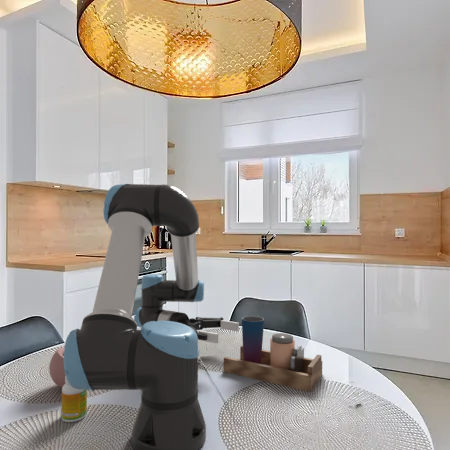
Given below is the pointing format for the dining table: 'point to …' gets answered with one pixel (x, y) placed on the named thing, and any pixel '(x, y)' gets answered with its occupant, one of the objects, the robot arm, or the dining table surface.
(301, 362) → the pusher
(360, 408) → the spoon
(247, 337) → the cup
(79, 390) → the supplement bottle
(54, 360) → the pink round piece
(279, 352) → the jar
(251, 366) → the wooden tray
